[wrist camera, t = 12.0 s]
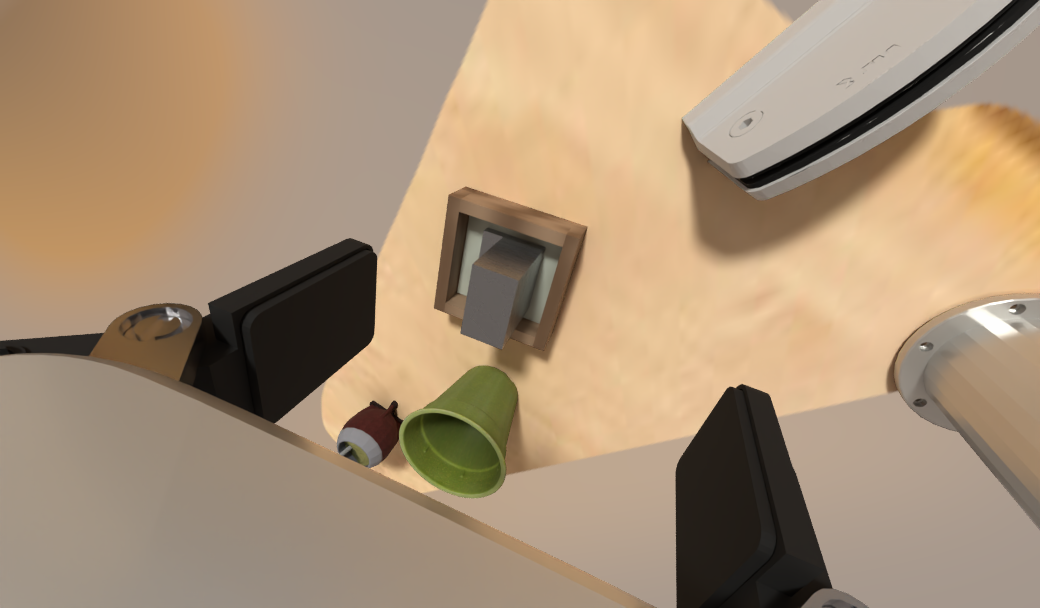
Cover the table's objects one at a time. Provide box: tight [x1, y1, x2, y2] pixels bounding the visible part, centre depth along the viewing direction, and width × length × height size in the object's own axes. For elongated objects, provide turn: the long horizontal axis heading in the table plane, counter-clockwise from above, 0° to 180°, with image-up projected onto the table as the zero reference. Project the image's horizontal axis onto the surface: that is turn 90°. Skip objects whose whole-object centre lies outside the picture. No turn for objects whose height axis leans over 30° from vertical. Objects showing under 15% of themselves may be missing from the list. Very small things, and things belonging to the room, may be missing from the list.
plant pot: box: [399, 366, 518, 498], centre depth 46 cm, size 12×12×11 cm
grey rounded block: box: [682, 0, 1040, 200], centre depth 24 cm, size 17×5×10 cm, turn 134°
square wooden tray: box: [434, 187, 587, 351], centre depth 40 cm, size 12×12×4 cm
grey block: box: [461, 228, 546, 350], centre depth 37 cm, size 6×7×8 cm
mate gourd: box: [337, 401, 403, 468], centre depth 53 cm, size 8×8×15 cm
